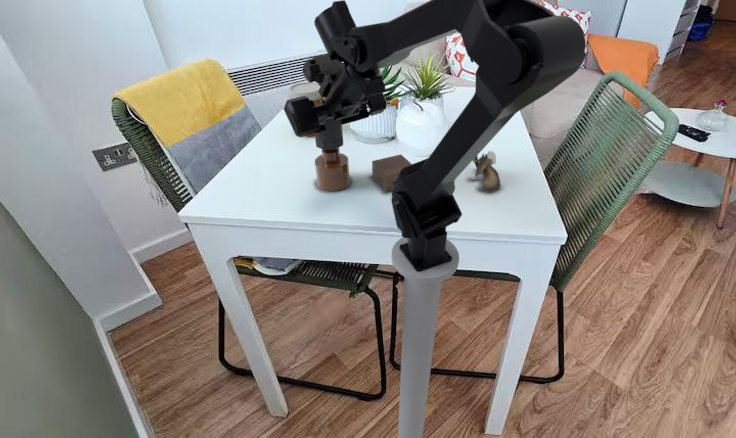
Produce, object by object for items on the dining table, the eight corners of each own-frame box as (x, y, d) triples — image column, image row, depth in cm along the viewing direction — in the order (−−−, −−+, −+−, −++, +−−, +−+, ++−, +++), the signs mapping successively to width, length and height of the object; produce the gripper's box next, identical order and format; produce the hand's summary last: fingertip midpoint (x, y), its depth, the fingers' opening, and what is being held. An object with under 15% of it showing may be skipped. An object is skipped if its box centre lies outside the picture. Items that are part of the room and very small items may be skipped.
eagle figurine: (453, 167, 83) (466, 181, 75) (473, 139, 81) (488, 151, 73) (480, 183, 85) (495, 198, 77) (500, 156, 83) (518, 169, 75)
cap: (348, 142, 76) (346, 106, 72) (329, 152, 73) (325, 115, 69) (330, 135, 79) (326, 100, 75) (310, 144, 76) (306, 108, 72)
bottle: (354, 186, 80) (352, 152, 75) (323, 194, 78) (319, 160, 73) (343, 171, 85) (340, 139, 81) (313, 178, 83) (309, 145, 79)
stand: (415, 184, 80) (416, 168, 78) (385, 192, 78) (385, 176, 76) (400, 170, 85) (401, 154, 83) (372, 177, 83) (371, 160, 81)
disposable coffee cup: (306, 122, 109) (300, 79, 101) (335, 127, 105) (331, 83, 98) (286, 135, 102) (279, 91, 95) (316, 141, 98) (311, 95, 91)
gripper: (377, 32, 66) (347, 81, 80) (278, 50, 58) (264, 101, 72) (404, 89, 65) (369, 128, 79) (308, 115, 57) (288, 154, 71)
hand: (325, 127), depth 75 cm, fingers closed on cap, 5 cm apart
